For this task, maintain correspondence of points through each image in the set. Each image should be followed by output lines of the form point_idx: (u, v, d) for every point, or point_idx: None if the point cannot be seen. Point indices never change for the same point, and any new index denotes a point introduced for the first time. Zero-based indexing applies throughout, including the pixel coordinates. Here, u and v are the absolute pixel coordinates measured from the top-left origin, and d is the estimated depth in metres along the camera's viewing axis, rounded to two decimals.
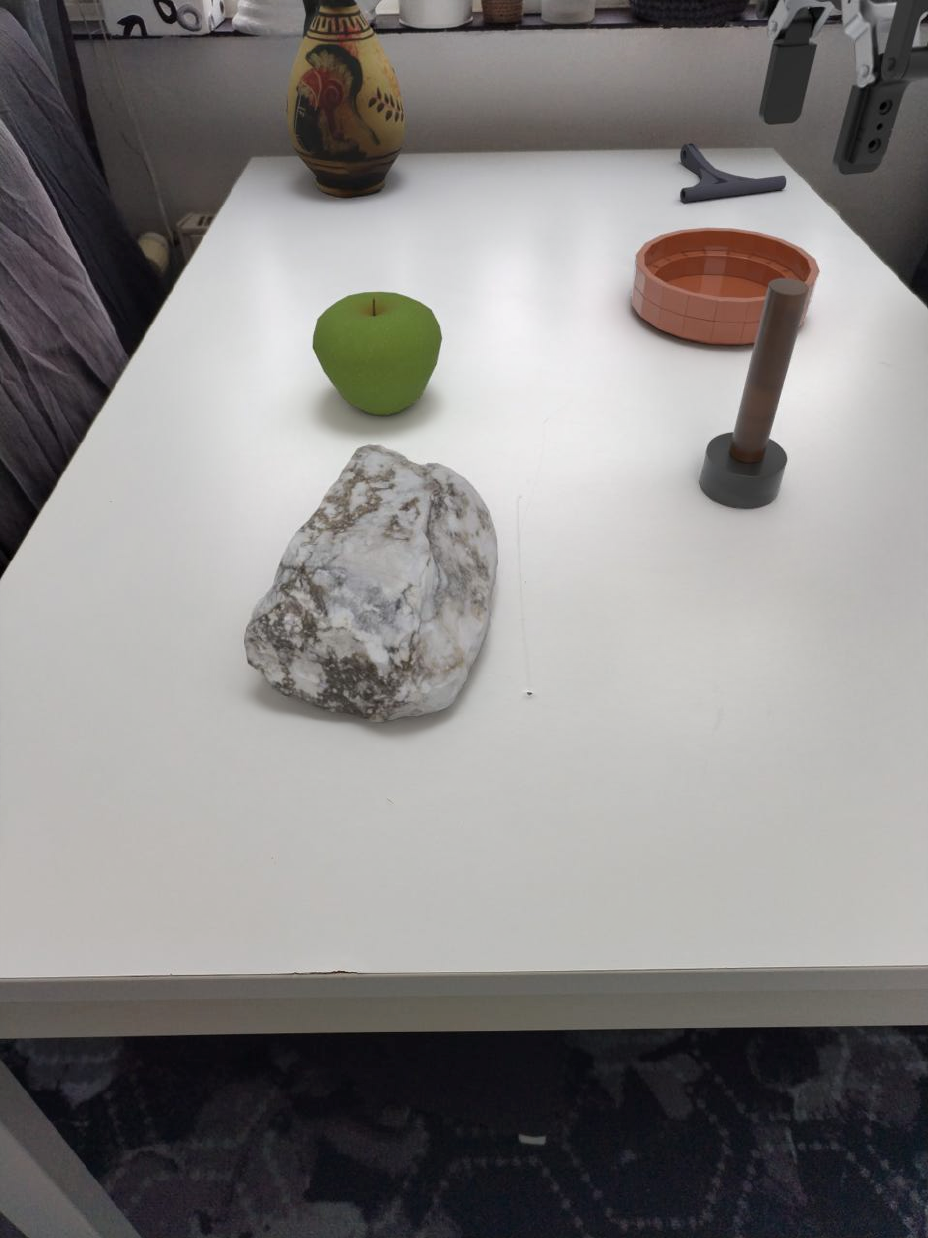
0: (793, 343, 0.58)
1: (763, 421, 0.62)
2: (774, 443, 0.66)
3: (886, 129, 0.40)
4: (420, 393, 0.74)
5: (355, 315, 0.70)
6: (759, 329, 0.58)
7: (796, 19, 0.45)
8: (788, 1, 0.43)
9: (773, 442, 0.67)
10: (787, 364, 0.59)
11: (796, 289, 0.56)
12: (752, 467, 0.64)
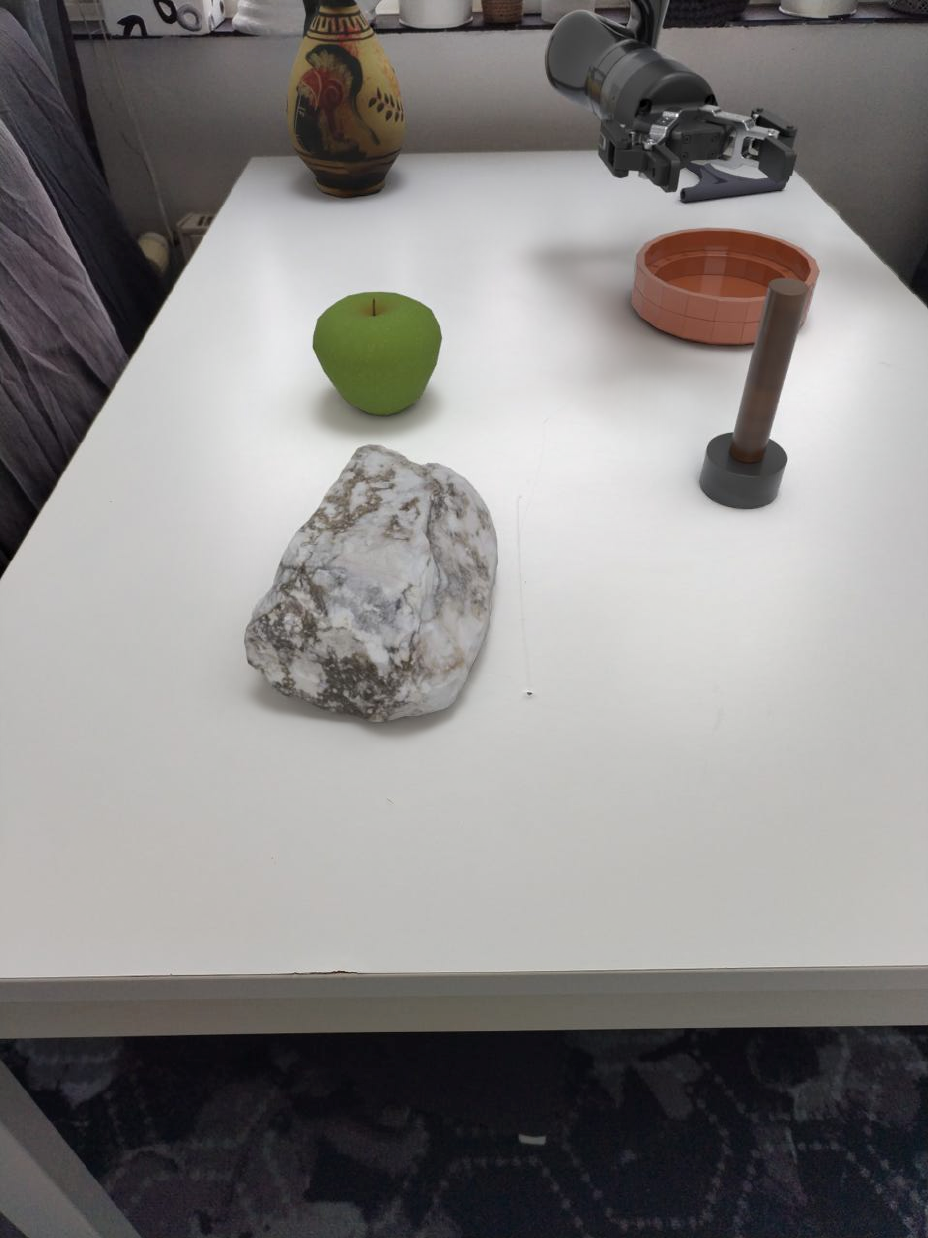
0: (793, 343, 0.58)
1: (763, 421, 0.62)
2: (774, 443, 0.66)
3: (651, 163, 0.62)
4: (420, 393, 0.74)
5: (355, 315, 0.70)
6: (759, 329, 0.58)
7: (758, 150, 0.66)
8: (733, 167, 0.67)
9: (773, 442, 0.67)
10: (787, 364, 0.59)
11: (796, 289, 0.56)
12: (752, 467, 0.64)
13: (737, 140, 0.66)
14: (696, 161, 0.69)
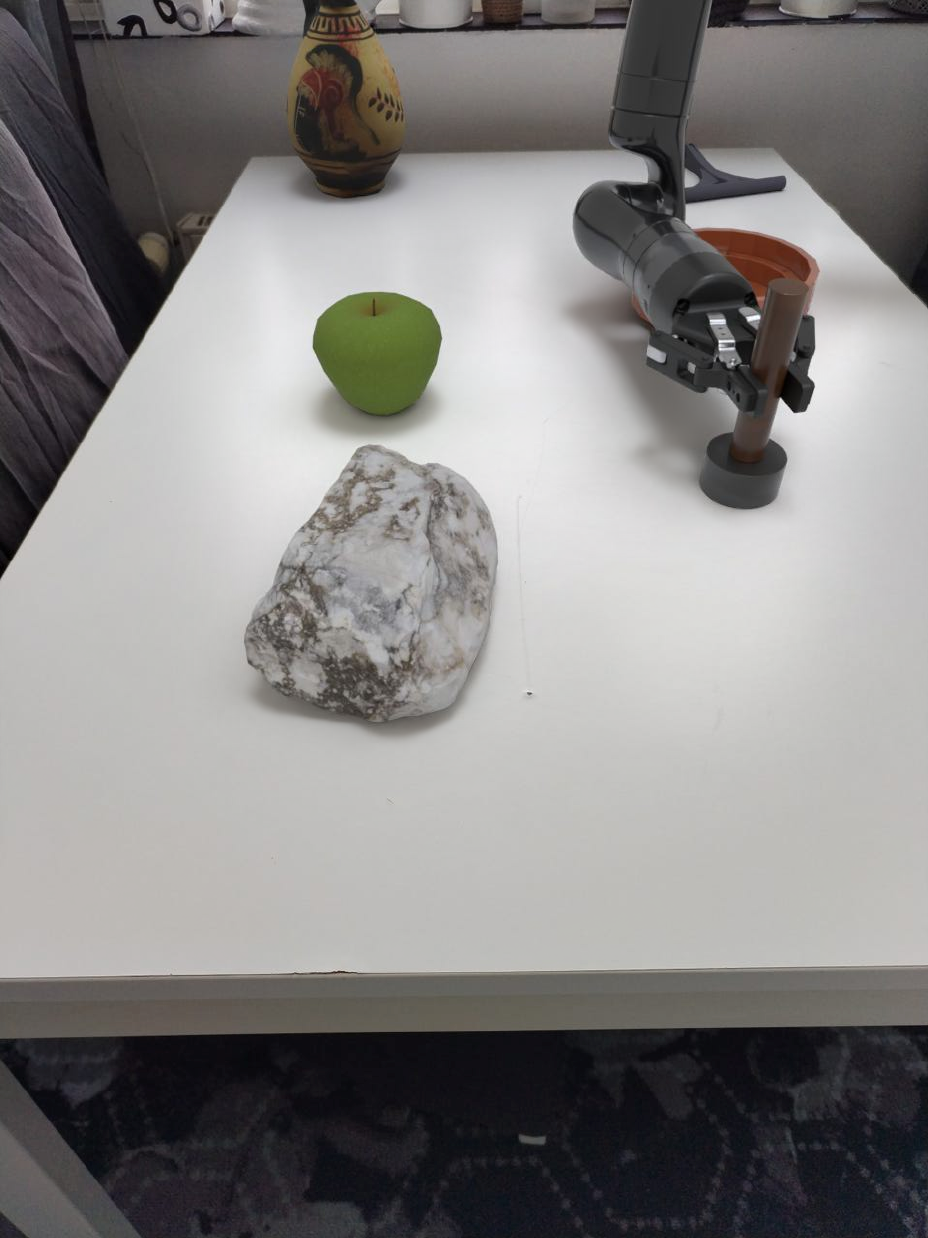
0: (793, 343, 0.58)
1: (763, 421, 0.62)
2: (774, 443, 0.66)
3: (735, 387, 0.60)
4: (420, 393, 0.74)
5: (355, 315, 0.70)
6: (759, 329, 0.58)
7: None
8: None
9: (773, 442, 0.66)
10: (787, 364, 0.59)
11: (796, 289, 0.56)
12: (752, 467, 0.64)
13: None
14: None
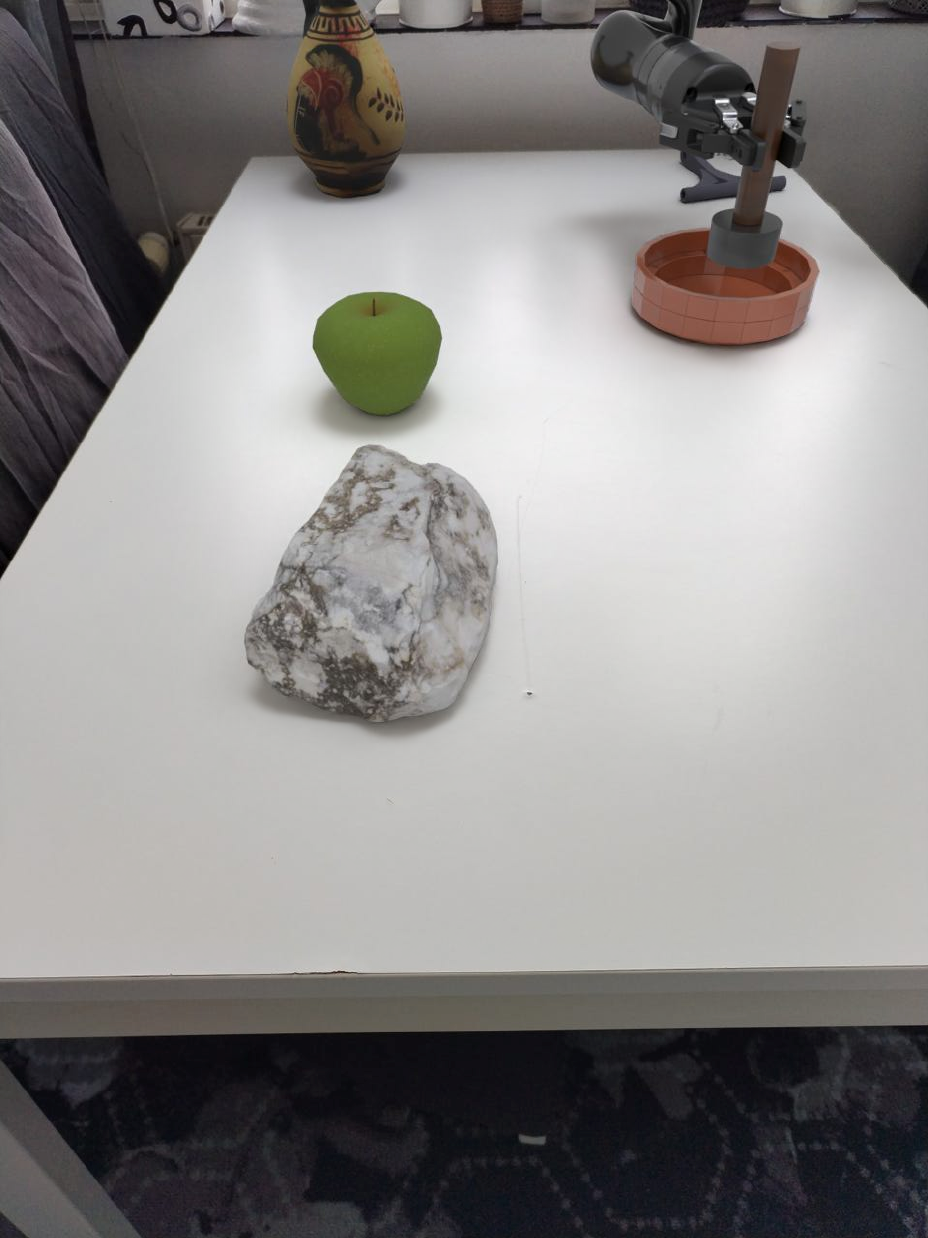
0: (787, 101, 0.68)
1: (762, 181, 0.72)
2: (771, 214, 0.76)
3: (738, 145, 0.70)
4: (420, 393, 0.74)
5: (355, 315, 0.70)
6: (758, 89, 0.68)
7: None
8: None
9: (770, 213, 0.76)
10: (782, 123, 0.69)
11: (790, 46, 0.65)
12: (752, 228, 0.74)
13: None
14: None
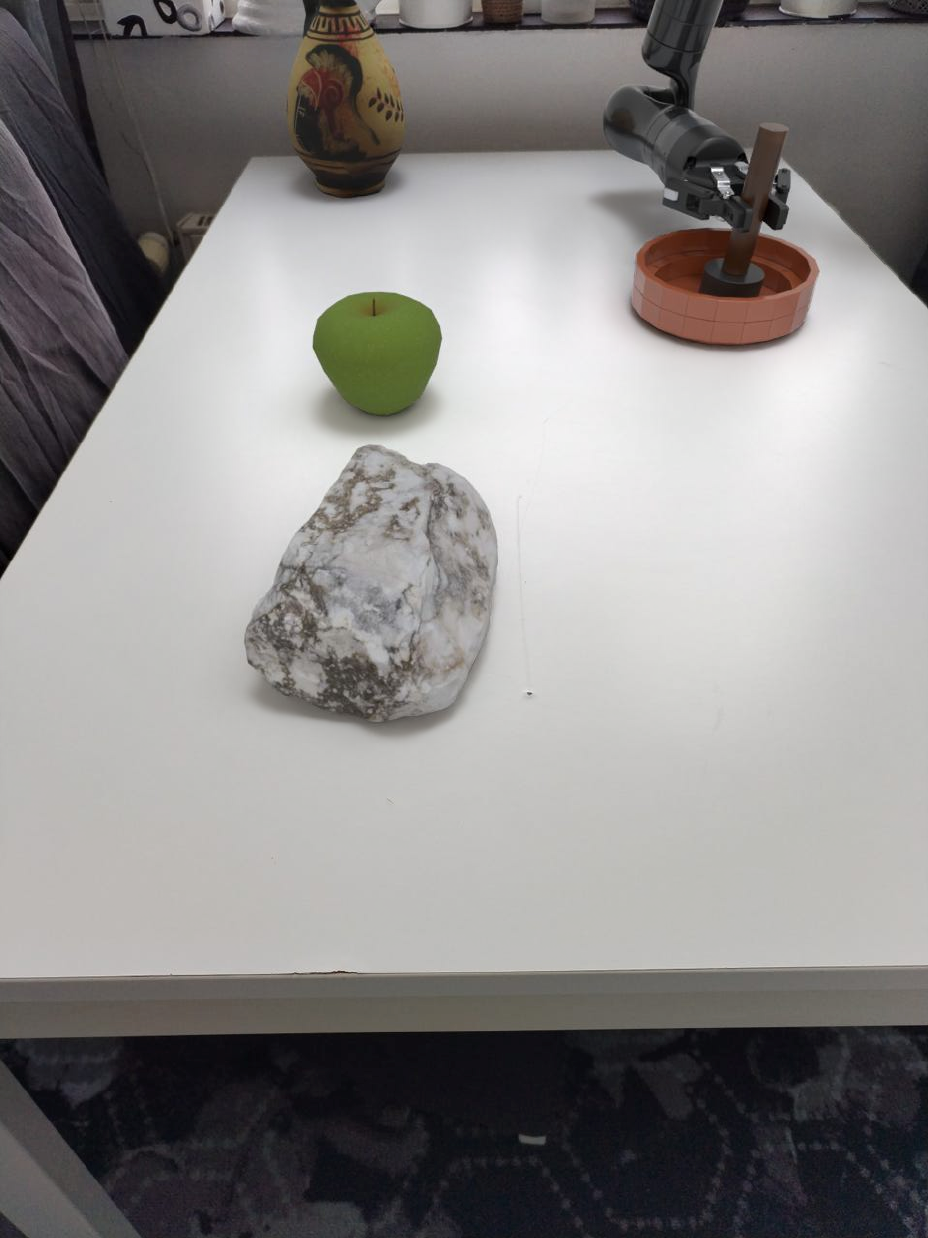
0: (774, 173, 0.79)
1: (748, 238, 0.83)
2: (756, 266, 0.87)
3: (729, 210, 0.81)
4: (420, 393, 0.74)
5: (355, 315, 0.70)
6: (750, 161, 0.79)
7: None
8: None
9: (755, 266, 0.87)
10: (769, 191, 0.80)
11: (779, 128, 0.77)
12: (737, 278, 0.85)
13: None
14: None
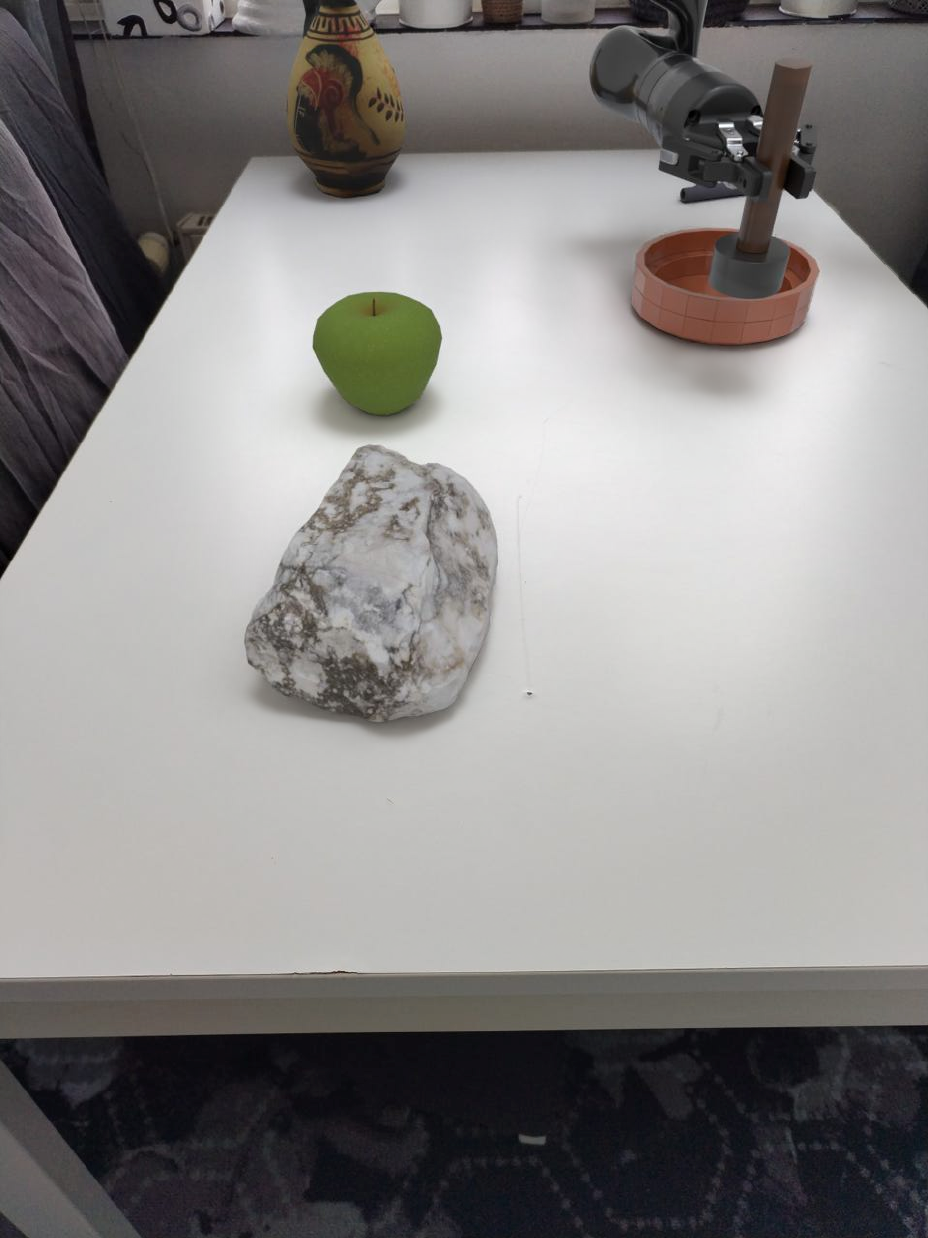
0: (797, 123, 0.63)
1: (767, 207, 0.67)
2: (779, 240, 0.71)
3: (742, 174, 0.65)
4: (420, 393, 0.74)
5: (355, 315, 0.70)
6: (766, 109, 0.63)
7: None
8: None
9: (778, 239, 0.71)
10: (791, 146, 0.64)
11: (800, 64, 0.60)
12: (756, 256, 0.69)
13: None
14: None
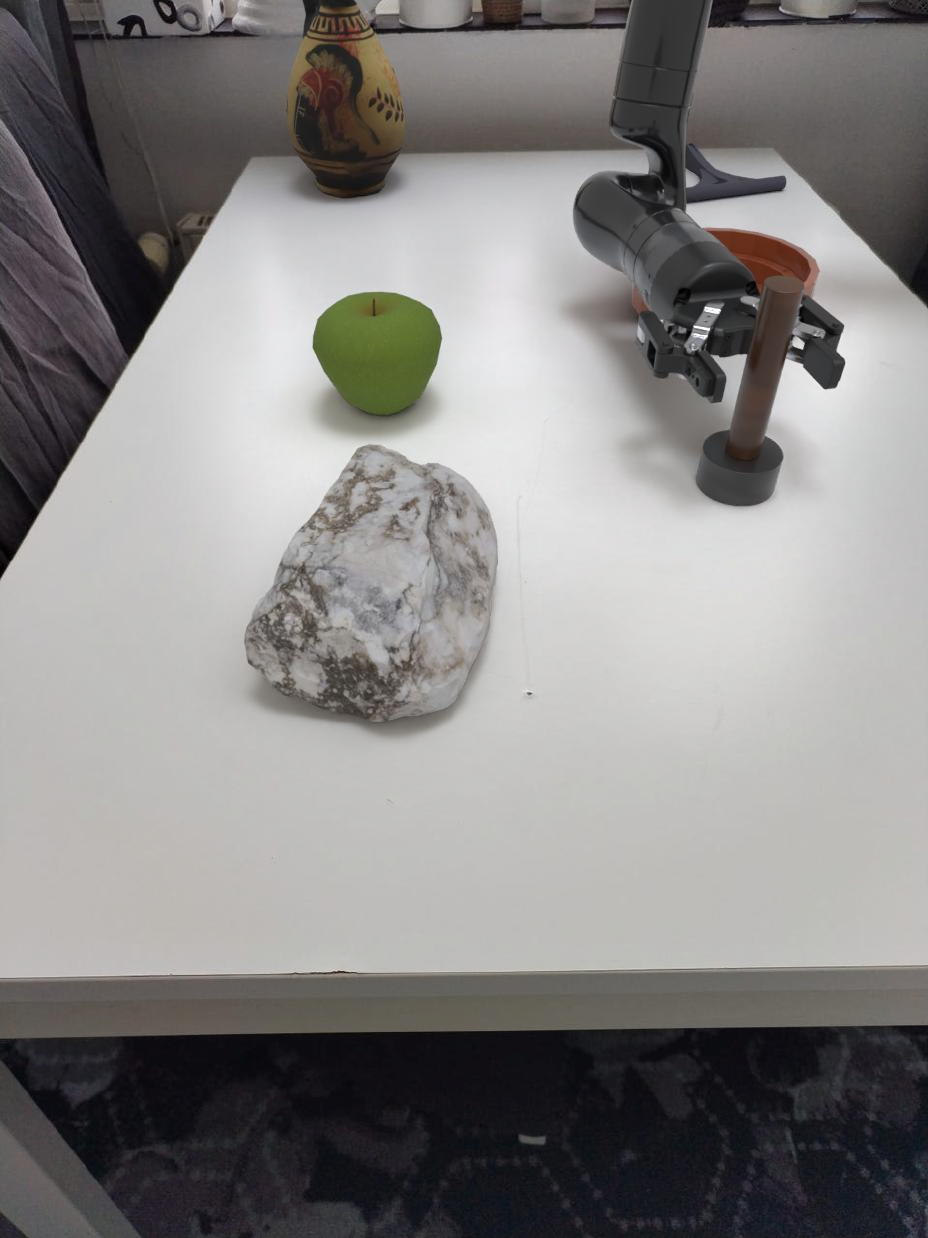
0: (788, 341, 0.58)
1: (758, 418, 0.62)
2: (771, 441, 0.67)
3: (695, 372, 0.60)
4: (420, 393, 0.74)
5: (355, 315, 0.70)
6: (754, 326, 0.59)
7: (803, 347, 0.64)
8: None
9: (770, 440, 0.67)
10: (782, 362, 0.60)
11: (791, 287, 0.56)
12: (747, 464, 0.64)
13: None
14: None
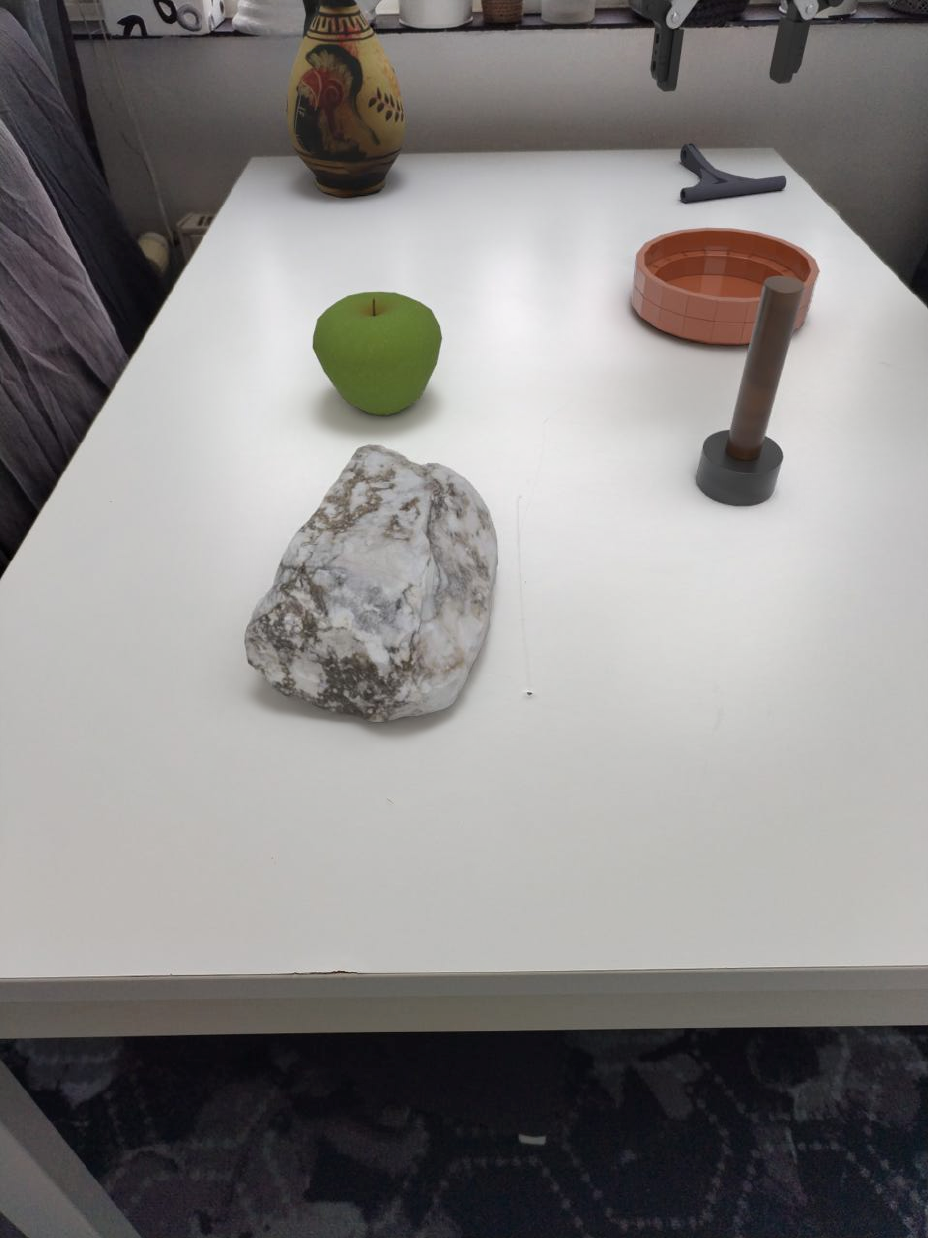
0: (788, 341, 0.58)
1: (758, 418, 0.62)
2: (771, 441, 0.67)
3: (657, 56, 0.59)
4: (420, 393, 0.74)
5: (355, 315, 0.70)
6: (754, 326, 0.59)
7: None
8: None
9: (770, 440, 0.67)
10: (782, 362, 0.60)
11: (791, 287, 0.56)
12: (747, 464, 0.64)
13: None
14: None
